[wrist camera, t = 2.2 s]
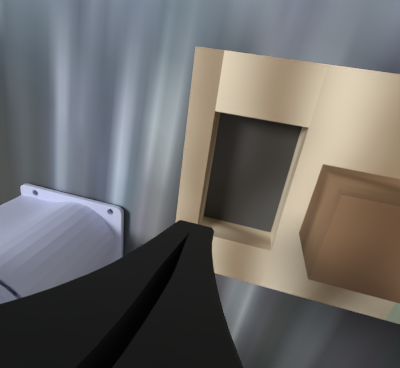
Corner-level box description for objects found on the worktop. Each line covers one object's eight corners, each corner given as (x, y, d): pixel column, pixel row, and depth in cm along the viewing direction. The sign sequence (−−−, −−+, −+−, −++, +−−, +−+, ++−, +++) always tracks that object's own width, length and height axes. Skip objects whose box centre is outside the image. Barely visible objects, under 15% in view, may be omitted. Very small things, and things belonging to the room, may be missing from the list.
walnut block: (298, 233, 16) (307, 279, 12) (322, 164, 14) (341, 194, 11) (378, 252, 15) (412, 307, 12) (414, 182, 13) (468, 221, 10)
